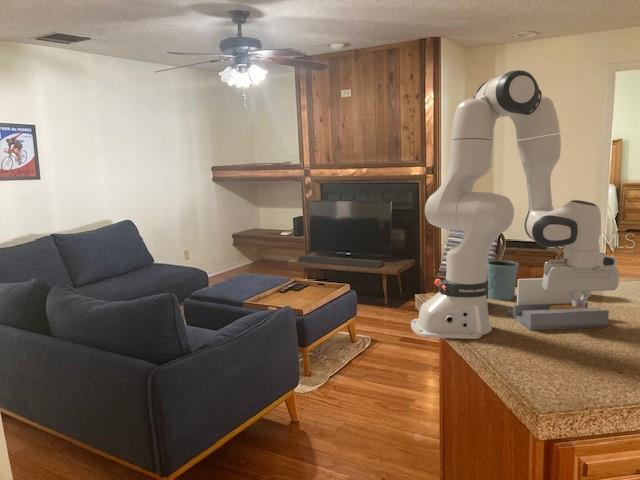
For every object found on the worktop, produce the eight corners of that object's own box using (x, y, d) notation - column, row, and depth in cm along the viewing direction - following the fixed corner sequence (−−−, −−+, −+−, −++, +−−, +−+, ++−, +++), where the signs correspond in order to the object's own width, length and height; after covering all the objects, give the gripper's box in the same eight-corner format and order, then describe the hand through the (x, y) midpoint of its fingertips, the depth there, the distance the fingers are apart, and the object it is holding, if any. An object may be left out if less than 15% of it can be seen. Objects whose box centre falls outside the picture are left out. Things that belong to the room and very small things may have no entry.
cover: (518, 279, 151) (517, 279, 152) (517, 304, 152) (516, 304, 153) (585, 277, 151) (583, 276, 152) (583, 302, 153) (582, 301, 154)
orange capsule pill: (546, 314, 152) (551, 317, 149) (546, 304, 152) (551, 307, 149) (582, 312, 152) (588, 315, 149) (583, 303, 152) (588, 305, 149)
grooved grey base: (530, 330, 142) (530, 313, 141) (507, 312, 158) (508, 298, 157) (607, 327, 142) (609, 310, 141) (577, 310, 158) (578, 295, 157)
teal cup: (480, 294, 179) (481, 261, 177) (504, 291, 182) (505, 258, 180) (498, 302, 169) (499, 267, 167) (523, 298, 172) (525, 264, 170)
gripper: (549, 261, 139) (547, 310, 141) (623, 259, 139) (620, 308, 141) (539, 257, 145) (537, 304, 147) (610, 255, 145) (607, 301, 147)
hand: (578, 306), depth 144 cm, fingers closed
